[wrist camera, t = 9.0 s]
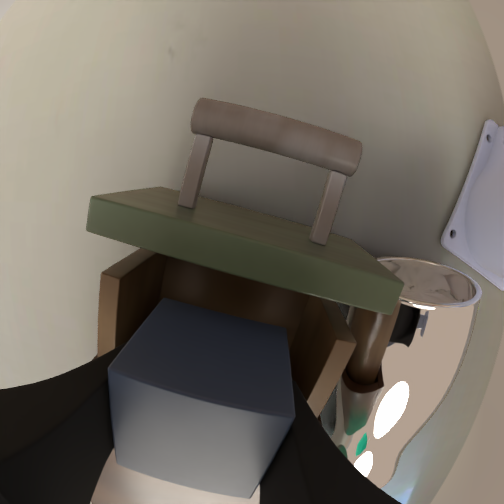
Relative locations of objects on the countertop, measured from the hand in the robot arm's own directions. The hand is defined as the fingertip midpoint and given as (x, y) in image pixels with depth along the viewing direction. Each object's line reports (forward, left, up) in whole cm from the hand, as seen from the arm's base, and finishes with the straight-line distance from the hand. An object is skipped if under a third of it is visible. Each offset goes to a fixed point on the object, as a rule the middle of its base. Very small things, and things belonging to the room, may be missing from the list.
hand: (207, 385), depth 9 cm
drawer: (-1, 0, -7) cm, 7 cm away
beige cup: (+8, +14, -5) cm, 17 cm away
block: (0, 0, -1) cm, 1 cm away
